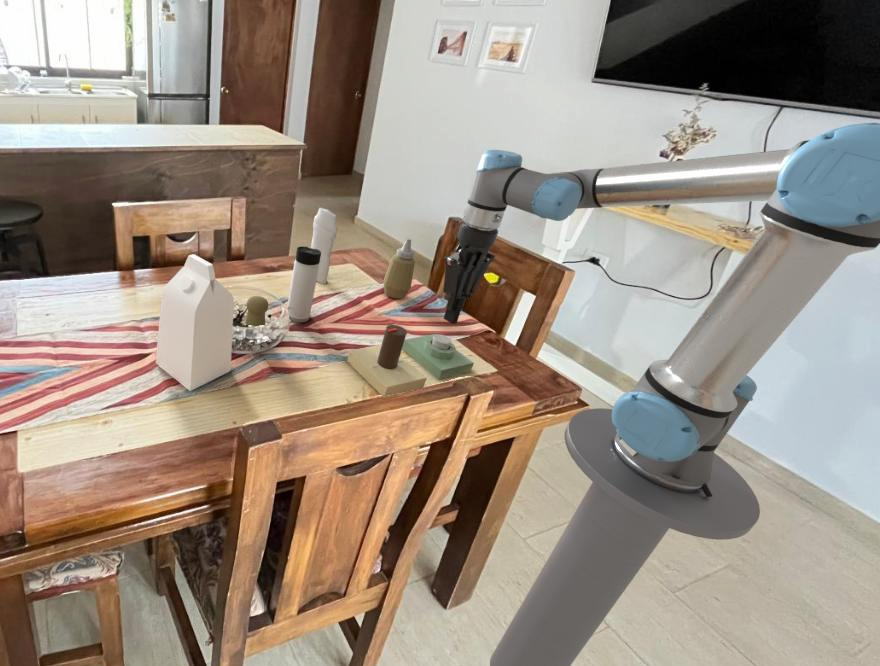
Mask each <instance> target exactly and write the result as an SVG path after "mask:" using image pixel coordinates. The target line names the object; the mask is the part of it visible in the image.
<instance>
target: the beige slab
mask: <svg viewBox="0 0 880 666" xmlns="http://www.w3.org/2000/svg"><path fill="white" fill-rule="evenodd" d="M381 345H382V343H381V344H377V345H371V346H366V347H361V348H356V349H351V350H349V351H348V355H347V359H346V362H347V363H348V364H349V365H350V366H351V367H352V368H353V369H354V370H356V372H357V373H359V375H361V376H362V378H364V380H365V381H366V382H367V383H368V384H369V385H370V386H372V388H373V389H374V390H375V391H376V392H378V394H379V395H380V396H382V397H383V396H387V395H392V394H397V393H402V392H406V393H408V392H407V391H411V390H415V391H418V390H417V389H419V390H422V388H423V389H424V387H425V384H426V381H427V376H426V375H424V374H423V373H422V372H421V371H420V370H419V369H417V368H416V367H415V366H414V365H412V363H410V362H409V361H408V360H407V359H405V358H404V357H403V356H402V355H401V354H400V357H399V361H398V364H397V367H396V368H395V369H386V368H383V367H381V366H380V365H379V364H378V362H377V360H378V356H379V353H380V349H381ZM411 392H412V391H411ZM402 394H403V393H402Z"/></svg>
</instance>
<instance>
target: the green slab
mask: <svg viewBox="0 0 880 666" xmlns="http://www.w3.org/2000/svg"><path fill="white" fill-rule="evenodd" d="M434 335H437V333H432V334H427V335H422V336H416V337H410V338H405V340H404V344H403V347H402V350H403V351H404V352H405V353H407V354H408V355H409V356H410V357H411V358H413V359H414V360H415V361H416V362H418V363H419V365H421V366H422V367H423V368H424V369H425V370H427V371H428V372H429V373H431V374H432V375H433V376H434V377H435V378H437V379H438V380H444V379H447V378H451V377H454V376H455V377H456V376H460V375H464V374H467V373H471V372H472V369H473V367H474V363H475V362H474V361H472V360H471V359H470V358H468V357H467V356H466V355H464V354H463V353H462V352H461V351H459V350H458V349H457V348H456V346H455V344H454V343H453V342H451V343H450V346H449V349H448V350H440V349H437V348H435V347H434V346H432V340H433V337H434Z"/></svg>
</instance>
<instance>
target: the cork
mask: <svg viewBox="0 0 880 666" xmlns="http://www.w3.org/2000/svg"><path fill="white" fill-rule="evenodd" d="M268 309H269V301H268V300H267V298H265V297H263V296H261V295H252V296H250V297H249V298H248V299H247V300H246V310H247V312H246V316H245V320H244V323H246V324H247V325H254V326H259V325H265V326H266V313H267V311H268Z"/></svg>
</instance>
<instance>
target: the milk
mask: <svg viewBox="0 0 880 666" xmlns="http://www.w3.org/2000/svg"><path fill="white" fill-rule="evenodd" d="M234 305H235V299H234V296H233V294H232V293H231V291H229V290H228V289H227V288H226V287H225V286H224V285H222V284H221V283H220V282H219V281H218V280H217V279H216V274H215V268H214V265H213V263H211V262H209V261H207V260H205V259H203V258H202V257H200V256H198V255H197V254H195V253H193V254H189V255H188V256H187V258H186V260H185V263H184V266H182V267H181V268H180V270H178V272H177V273H176V274H175V275H173V277H172V278H171V279H170V280H169V281H168V282H167V283H166V285H165V286H164V288H163V289H162V291H161V298H160V311H159V322H158V333H157V343H156V353H155V364H156V365H157V366H158V367H159V368H160V369H162V370H163V371H165V372H166V373H167V374H168V375H169V376H170V377H172V378H173V379H174V380H176V381H177V382H178V383H179V384H181V385H182V386H183V387H184V388H185V389H187V391H189V392H191V391H193V390H196V389H197V388H199V387H202V386H204V385H206V384H208V383H210V382H211V381H214V380H216V379H217V378H220V377H221V376H223V375H225V374H228V373H230V372H231V371H232V350H233V327H234V308H235V307H234Z"/></svg>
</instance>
